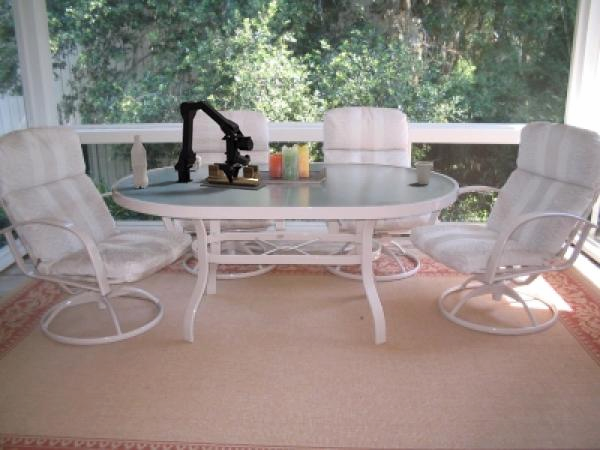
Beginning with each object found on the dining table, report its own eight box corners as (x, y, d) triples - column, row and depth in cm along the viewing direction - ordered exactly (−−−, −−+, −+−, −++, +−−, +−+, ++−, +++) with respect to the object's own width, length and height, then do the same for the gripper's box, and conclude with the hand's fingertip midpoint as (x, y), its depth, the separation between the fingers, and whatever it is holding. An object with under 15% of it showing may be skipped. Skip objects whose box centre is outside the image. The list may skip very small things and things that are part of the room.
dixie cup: (431, 184, 290) (433, 164, 287) (414, 184, 292) (415, 164, 289) (431, 181, 298) (432, 161, 295) (414, 181, 300) (415, 161, 297)
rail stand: (254, 184, 293) (254, 168, 291) (205, 180, 302) (204, 165, 299) (261, 180, 301) (261, 165, 299) (213, 177, 310) (213, 162, 308)
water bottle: (144, 189, 282) (140, 136, 275) (130, 188, 284) (126, 136, 277) (151, 186, 289) (147, 134, 282) (137, 185, 290) (133, 134, 284)
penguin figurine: (199, 155, 324) (177, 157, 325) (201, 171, 327) (180, 173, 327) (201, 153, 331) (179, 156, 331) (203, 169, 333) (182, 171, 333)
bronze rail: (256, 187, 284) (256, 180, 283) (207, 183, 292) (207, 176, 291) (259, 185, 287) (259, 178, 286) (210, 182, 295) (210, 175, 294)
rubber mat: (257, 190, 280) (257, 188, 280) (200, 186, 290) (200, 184, 289) (266, 185, 290) (266, 184, 290) (210, 181, 300) (210, 180, 299)
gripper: (239, 153, 274) (240, 186, 278) (255, 147, 291) (256, 179, 295) (217, 152, 278) (218, 185, 282) (234, 146, 295) (235, 178, 299)
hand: (233, 182), depth 289 cm, fingers open, 5 cm apart
